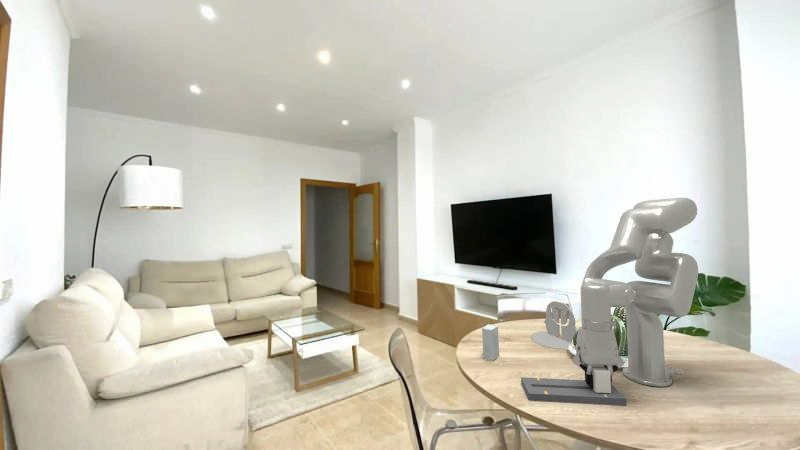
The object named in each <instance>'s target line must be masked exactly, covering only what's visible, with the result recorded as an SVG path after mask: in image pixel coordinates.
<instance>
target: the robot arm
mask: <svg viewBox="0 0 800 450" xmlns="http://www.w3.org/2000/svg"><path fill="white" fill-rule="evenodd" d="M697 214H698V206H697V204H696V202H695V201H694V200H692V199H691V198H688V197H673V198H662V199H661V198H660V199H649V200H645V201H644V200H643V201H639V202H637V203H636V204H634V206H633V207H632V208H631V209H627V210H625V211H624V212H623V213H622V214H621V216H620V218H619V222H618V224H617V228H616V230H615V233H614V236H613V238H612V241H611V244H610V247H609V248H608V249H606V250H604V252H602V253H601V254H600V255H598V256H597V257H596V258H595V259H594V260H593V261H591V262H590V263H589V265H588V267H587V269H586V271H585V272H584V273H585V274H584V276H583V279H582V283H581V285H580V311H581V312H580V313H581V314H580V315H581V326H579V327H578V328H577V331H578V335H577V340H576V349H575V351H576V353H575V354H574V356H573V357H572V359H571V361H572V363H573V364H574V365H576V366H577V367H579V368H580V369H581V370H583V371H584V380H585V382H586V384H588V386H589V387H590V388H593V375H592V374H591V371H592V365H603V366H604V367H606V369H607V370H608V371H609V372H610V378H611V385H613V376H614V373H616V371H618V369H621V367H623V366H625V362H624V361H623V359H622V358H621V357H620V356H619V349H618V343H617V338H616V334H615V331H614V330H613V327H617V322H616V321H613V320H612V312H611V311H612V308H624V310H625V319H626V342H627V343H626V344H627V345H626V346H627V366H628V367H627V366H625V367H624V368H622V373H623V375H624V376H625V377H626V378H627V379H629V380H631V381H633V382H635V383H638V384H641V385H645V386H649V387H659V388H660V387H661V388H664V387H668V386H671V385H672V381H673V380H672V378H671V376H672V375H673V376H683V373H684V372H683V370H682V369H681V368H673V366H671V365H666V364H665V342H664V341H665V340H664V325H663V323H662V320H661V319H660V318H659V316H658V315H664V316H667V317H673V318H684V317H686V316H687V315H688V314H689V313H690V310H691V308H692V303H693V299H694V294H695V291H696V288H697V287H696V286H697V281H698V278H699V277H698V276H699V266H698V265H699V264H698V262H697V260H696V259H695V258H694V257H693V256H692V255H691V254H688V253H683V252H673V246H674V239H673V237H672V235H671V234H672V233H675V232H677V231H679V230H681V229H683V228H684V227H686V226H688V225H690V224H691V223H693V221H695V219H696V217H697ZM634 261H635V264H634V271H635V274H636V276H638V277H640V278H642V279H645V280H650V281H644V280H632V281H628V282H624V281H623V282H622V281H617V280H611V279H604V278H603V277H604V276H605V275H606V274H607V273H608V272H609V271H610V270H612V269H615V268H616V267H619V266H621V265H625V264H627V263H630V262H631V263H632V262H634ZM652 280H653V281H658V282H652ZM659 281H660V283H659ZM661 282H667V284H666V283H661ZM668 283H670V284H668Z"/></svg>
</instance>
